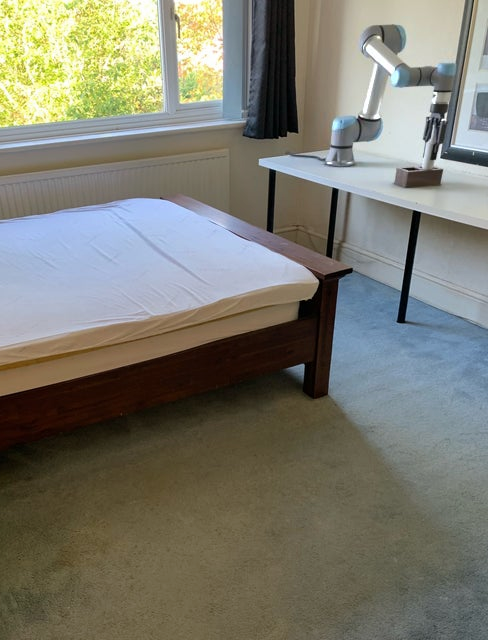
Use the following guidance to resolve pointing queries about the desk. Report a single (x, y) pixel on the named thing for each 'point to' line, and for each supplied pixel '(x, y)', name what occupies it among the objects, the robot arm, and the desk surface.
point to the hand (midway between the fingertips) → (429, 158)
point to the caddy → (418, 176)
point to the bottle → (429, 153)
